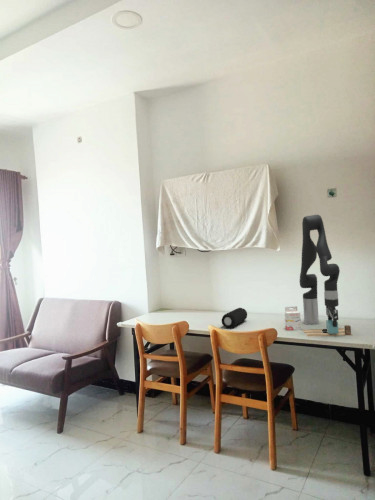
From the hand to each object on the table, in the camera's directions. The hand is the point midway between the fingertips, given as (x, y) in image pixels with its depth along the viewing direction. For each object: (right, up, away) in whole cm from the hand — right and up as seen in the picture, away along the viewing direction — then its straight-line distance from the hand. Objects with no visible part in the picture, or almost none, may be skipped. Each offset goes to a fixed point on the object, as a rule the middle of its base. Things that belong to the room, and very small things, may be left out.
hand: (332, 324), depth 209 cm
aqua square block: (0, -4, 0) cm, 4 cm away
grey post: (0, -6, 0) cm, 6 cm away
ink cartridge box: (-19, -7, +16) cm, 25 cm away
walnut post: (+8, -5, -3) cm, 10 cm away
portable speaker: (-52, -8, +40) cm, 66 cm away
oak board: (-2, -6, +4) cm, 7 cm away
